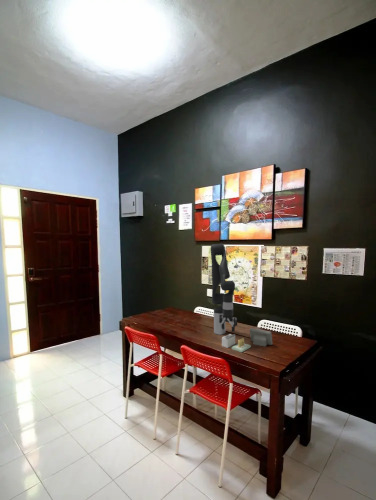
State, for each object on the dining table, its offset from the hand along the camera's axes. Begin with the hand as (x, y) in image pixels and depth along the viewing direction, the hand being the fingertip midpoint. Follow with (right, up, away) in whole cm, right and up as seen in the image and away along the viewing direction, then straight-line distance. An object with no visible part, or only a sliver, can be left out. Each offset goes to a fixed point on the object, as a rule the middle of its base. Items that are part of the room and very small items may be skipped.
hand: (228, 330), depth 176 cm
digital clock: (+25, -11, +2) cm, 27 cm away
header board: (+8, -11, -6) cm, 15 cm away
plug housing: (0, -11, 0) cm, 11 cm away
